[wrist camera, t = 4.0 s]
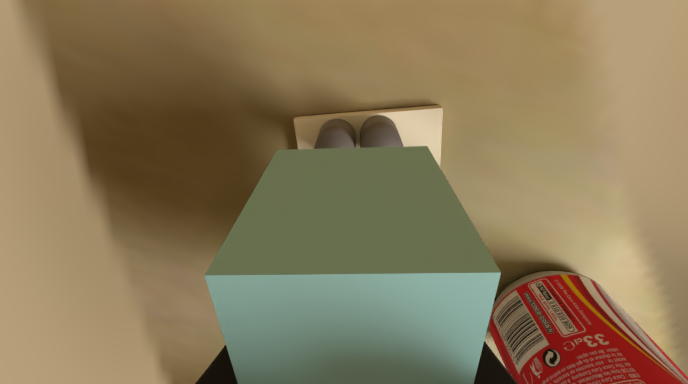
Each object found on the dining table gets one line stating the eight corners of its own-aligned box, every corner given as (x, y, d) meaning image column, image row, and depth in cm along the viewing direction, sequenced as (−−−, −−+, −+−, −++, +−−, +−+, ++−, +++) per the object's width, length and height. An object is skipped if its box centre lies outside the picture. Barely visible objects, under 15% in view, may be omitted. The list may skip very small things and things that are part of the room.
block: (277, 149, 10) (204, 275, 5) (427, 145, 10) (501, 272, 5) (305, 358, 15) (282, 529, 10) (408, 358, 15) (436, 532, 10)
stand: (433, 241, 19) (446, 276, 17) (316, 247, 20) (310, 283, 17) (439, 104, 16) (457, 122, 13) (295, 116, 16) (283, 135, 13)
